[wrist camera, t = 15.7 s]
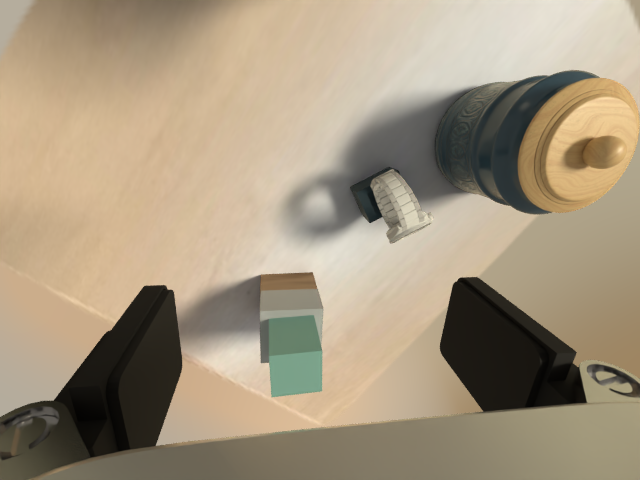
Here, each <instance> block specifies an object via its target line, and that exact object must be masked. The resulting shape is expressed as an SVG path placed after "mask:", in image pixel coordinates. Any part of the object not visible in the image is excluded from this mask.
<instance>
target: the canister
mask: <svg viewBox="0 0 640 480" xmlns="http://www.w3.org/2000/svg"><path fill="white" fill-rule="evenodd" d="M638 135H639V113H638V108H637V105H636V102H635V100H634V98H633V97H632V95H631V94H630V92H629V91H628V90H627V89H626V88H625V87H624V86H623V85H621V84H620V83H618V82H616V81H613V80H610V79H606V78H600V77H598V76H597V75H594V74H592V73H589V72H585V71H579V70H570V71H563V72H559V73H556V74H553V75H550V76H547V75H542V76H534V77H529V78H526V79H523V80H520V81H513V82H495V83H490V84H485V85H482V86H480V87H477V88H475V89H473V90H471V91H470V92H468V93H466V94H464V95H463V96H461V97H460V98H459V99H458V100H457V101H455V102H454V103H453V105H452V106H451V107H450V108H449V109H448V111H447V112H446V114H445V115H444V117H443V119H442V121H441V123H440V125H439V128H438V131H437V135H436V141H435V154H436V160H437V163H438V166H439V168H440V170H441V172H442V174H443V175H444V176H445V177H446V178H447V179H448V180H449V181H450V182H451V183H452V184H453V185H454V186H456V187H457V188H459V189H461V190H464V191H466V192H469V193H473V194H479V195H482V196H485V197H487V198H490V199H491V200H493V201H495V202H497V203H500V204H503V205H508V206H511V207H513V208H515V209H516V210H518V211H521V212H524V213H528V214H548V213H552V212H556V213H557V212H558V213H563V212H571V211H575V210H578V209H581V208H583V207H586V206H588V205H590V204H591V203H593V202H595V201H596V200H598V199H599V198H600V197H602V196H603V195H604V194H605V193H606V192H608V191H609V190H610V189H611V188H612V187H613V186H614V184H615V183H616V182H617V181H618V180H619V178H620V177H621V176H622V174H623V173H624V171H625V170H626V168H627V166H628V164H629V163H630V161H631V158H632V156H633V154H634V152H635V148H636V144H637V141H638Z"/></svg>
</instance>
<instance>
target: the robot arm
mask: <svg viewBox="0 0 640 480" xmlns="http://www.w3.org/2000/svg"><path fill="white" fill-rule="evenodd" d="M440 351H441V354H442V356H443V357H444V358H445V360H446V361H447V363H448V364H449V365H450V367H451V368H452V369H453V371H454V372H455V373H456V374H457V376H458V377H459V379H460V380H461V382H462V383H463V384H464V385H465V387H466V388H467V390H468V391H469V392H470V394H471V395H472V397H473V398H474V399H475V401H476V402H477V403H478V405H479V406H480V407H481V409H482V410H483V412H475V413H464V414H454V415H443V416H433V417H422V418H413V419H402V420H391V421H382V422H371V423H361V424H351V425H341V426H331V427H321V428H312V429H302V430H293V431H283V432H275V433H265V434H254V435H245V436H235V437H226V438H217V439H207V440H198V441H188V442H182V443H174V444H167V445H160V446H156V443H157V440H158V437H159V434H160V432H161V429H162V426H163V423H164V420H165V417H166V414H167V412H168V409H169V406H170V403H171V400H172V397H173V394H174V391H175V388H176V385H177V383H178V380H179V377H180V373H181V370H182V355H181V347H180V339H179V330H178V322H177V314H176V306H175V298H174V292H173V290H168V289H167V287H166V286H165V285H157V286H144V287H143V288H142V290H141V291H140V292H139V294H138V295H137V296H136V298H135V299H134V300H133V302H132V303H131V304H130V306H129V307H128V308H127V310H126V311H125V312H124V314H123V315H122V316H121V318H120V319H119V320H118V322H117V323H116V324H115V326H114V327H113V328H112V330H111V331H108V332H106V334H104V336H103V337H102V338H101V339H100V341H99V342H98V343H97V345H96V346H95V347H94V349H93V350H92V351H91V353H90V354H89V355H88V356H87V358H86V359H85V361H84V362H83V363H82V364H81V366H80V367H79V368H78V369H77V371H76V372H75V373H74V375H73V376H72V378H71V379H70V380H69V381H68V383H67V384H66V385H65V386H64V388H63V389H62V390H61V392H60V393H59V394H58V396H57V397H56V398H55V400H54V401H40V402H35V403H31V404H28V405H25V406H22V407H20V408H17V409H15V410H13V411H11V412H9V413H7V414H5V415H3V416H1V417H0V480H640V379H639V378H637V377H636V376H634V375H633V374H631V373H630V372H627V371H626V370H623V369H621V368H620V367H617V366H614V365H612V364H609V363H605V362H601V361H595V360H587V361H583V362H582V363H580V365H579V367H577V366H576V365H574V364H573V360H574V358H575V355H576V351H574V350H573V349H572V348H570V347H569V346H568V345H567V344H565V343H564V342H562V341H561V340H560V339H558V338H557V337H556V336H555V335H553V334H552V333H551V332H549V331H548V330H547V329H545V328H544V327H543V326H541V325H540V324H539V323H537V322H536V321H535V320H533V319H532V318H531V317H529V316H528V315H527V314H526V313H524V312H523V311H522V310H520V309H519V308H517V307H516V306H515V305H514V304H512V303H511V302H509V301H508V300H507V299H506V298H504V297H503V296H502V295H500V294H499V293H498V292H496V291H495V290H494V289H492V288H491V287H490V286H489V285H487V284H486V283H484V282H483V281H482V280H480V279H479V278H477V277H467V278H459V279H458V281H457V282H455V283H454V284H453V287H452V292H451V296H450V301H449V306H448V310H447V315H446V319H445V324H444V329H443V334H442V338H441V342H440Z"/></svg>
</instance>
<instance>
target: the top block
mask: <svg viewBox="0 0 640 480" xmlns="http://www.w3.org/2000/svg"><path fill="white" fill-rule="evenodd" d="M307 315H314V318H315V322H316V326H317V330H318V335H319V339H320V343H321V340H322V324H323V306H322V302H321V299H320V295H319V292H318V289H298V290H266V291H261V295H260V349H261V363H269V319H271V318H283V317H295V316H307Z"/></svg>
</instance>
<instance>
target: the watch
mask: <svg viewBox="0 0 640 480" xmlns="http://www.w3.org/2000/svg"><path fill="white" fill-rule="evenodd" d="M350 188H351V190H352V192H353V195H354V197H355V199H356V201H357V204H358V206H359V208H360V210H361V212H362V215H363V216H364V217H365V219H366V220H367V221H368V222H369V223H371V222H373V221H375V220H377V219H379V218H381V217H383V218H384V220H385V222H386V224H387V225H388V227H389V230H388V231H387V233H386V234H387V237H388V239H389V240H390V244H391V243H395V242H397V241H399V240H401V239H403V238H405V237H407V236H409V235H411V234H413V233H415V232H417V231H419V230H421V229H423V228H425V227H426V226H428V225H429V224H431V223H432V219H434V218H433V215H432V214H431V213H428V214H426V213H425V211H424V212H422V210H421V208H420V205H419V203H418V201H417V199H416V197H415V195H414V194H413V192H412V190H411V188H410V187H409V186H408V184H407V183H406V182H405V180H404V179H402V177H401V176H400V174H399V171H398V170H395V169H393V168H390V167H388V168H386V169H384V170H382V171H381V172H379V173H377V174H375V175H373V176H371V177H369V178H367V179H365V180H363V181H361V182H359V183H357V184H355V185H353V186H351V187H350ZM411 193H412V194H411ZM409 194H410V195H409ZM384 216H385V217H384ZM391 218H392V219H391ZM389 219H390V220H389Z"/></svg>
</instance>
